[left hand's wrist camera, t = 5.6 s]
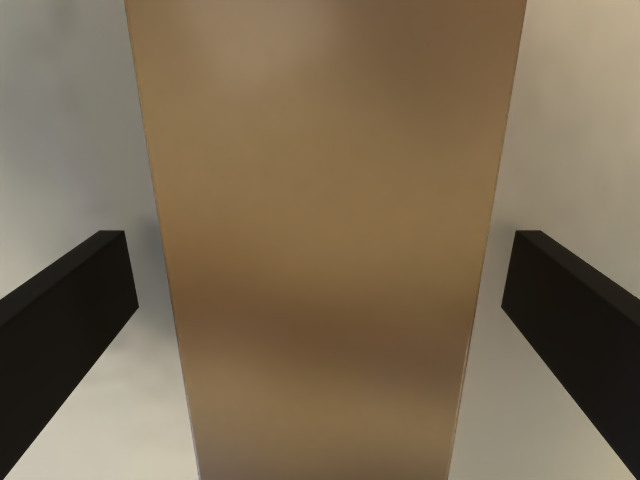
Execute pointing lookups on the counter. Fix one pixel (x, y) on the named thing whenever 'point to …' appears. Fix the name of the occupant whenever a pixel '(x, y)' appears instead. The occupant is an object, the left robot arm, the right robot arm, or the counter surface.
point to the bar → (324, 221)
